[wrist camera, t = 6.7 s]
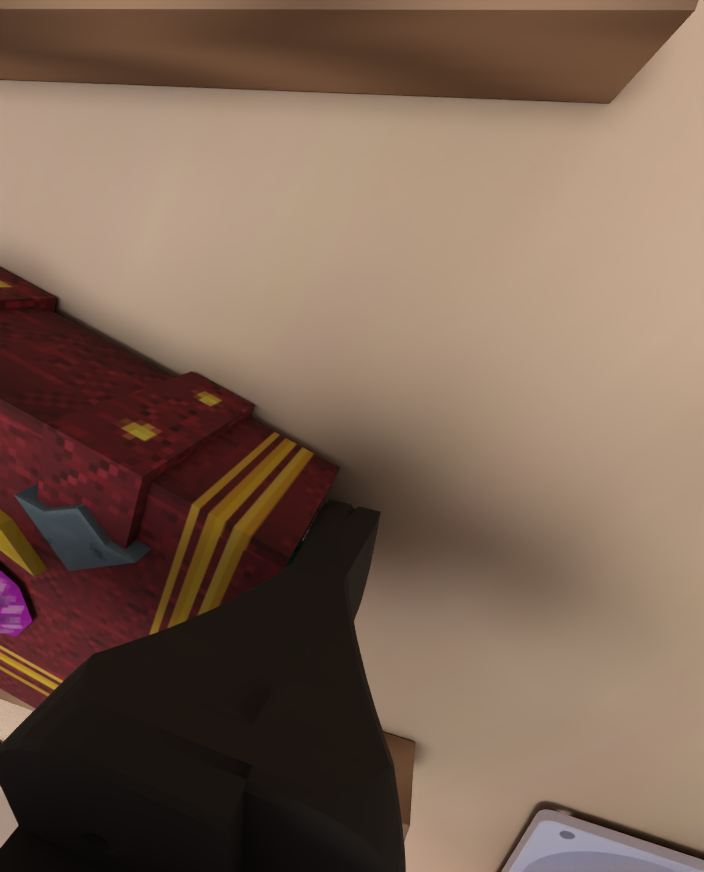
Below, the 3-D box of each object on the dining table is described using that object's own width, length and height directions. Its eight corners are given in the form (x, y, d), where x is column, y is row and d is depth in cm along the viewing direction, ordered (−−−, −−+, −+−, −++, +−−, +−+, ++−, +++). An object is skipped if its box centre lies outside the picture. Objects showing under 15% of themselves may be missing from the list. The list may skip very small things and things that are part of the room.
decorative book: (-89, 215, 11) (-459, 166, 6) (388, 473, 11) (349, 611, 6) (-66, 494, 16) (-267, 577, 11) (263, 677, 16) (190, 838, 11)
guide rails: (644, -12, 6) (763, -186, 4) (408, 763, 15) (402, 846, 13) (-280, -6, 10) (-501, -95, 7) (-22, 621, 19) (-86, 667, 16)
